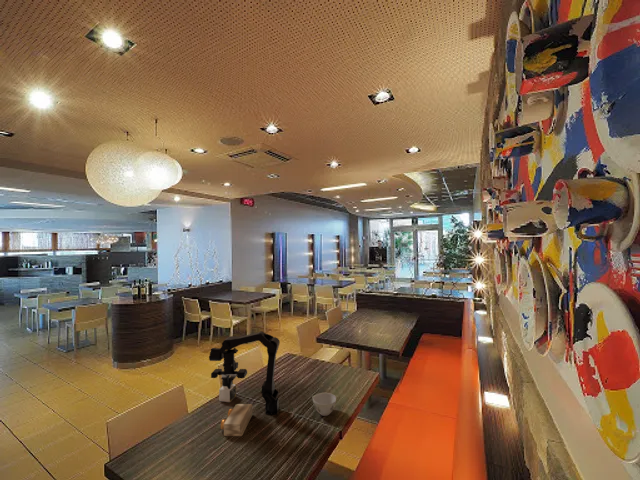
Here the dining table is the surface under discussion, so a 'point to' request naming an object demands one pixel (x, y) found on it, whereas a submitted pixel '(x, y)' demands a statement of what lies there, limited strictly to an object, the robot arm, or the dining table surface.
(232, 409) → the knob inner
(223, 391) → the medicine bottle
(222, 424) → the knob outer
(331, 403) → the teacup
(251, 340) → the robot arm
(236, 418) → the beech block
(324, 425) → the dining table surface
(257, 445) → the dining table surface
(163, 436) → the dining table surface
